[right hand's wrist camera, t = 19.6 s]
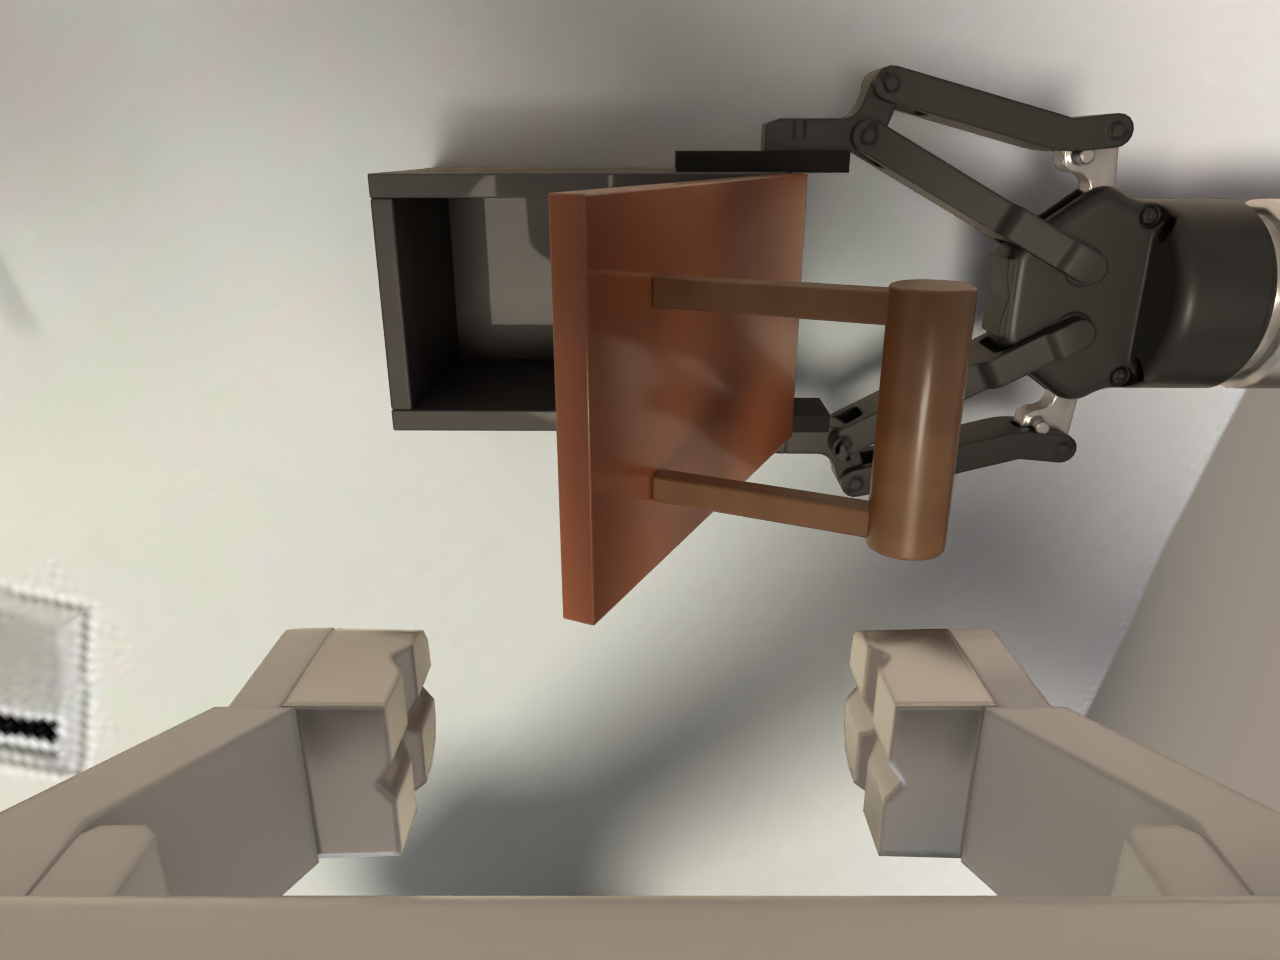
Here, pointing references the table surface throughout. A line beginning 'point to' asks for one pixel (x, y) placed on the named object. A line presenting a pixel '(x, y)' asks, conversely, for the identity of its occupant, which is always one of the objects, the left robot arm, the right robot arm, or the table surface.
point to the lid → (726, 378)
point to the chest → (477, 289)
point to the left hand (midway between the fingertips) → (674, 294)
